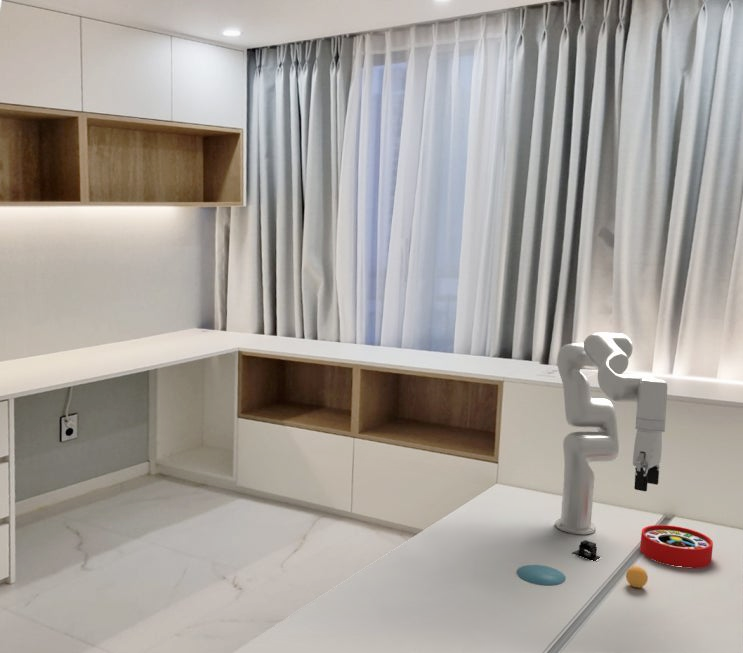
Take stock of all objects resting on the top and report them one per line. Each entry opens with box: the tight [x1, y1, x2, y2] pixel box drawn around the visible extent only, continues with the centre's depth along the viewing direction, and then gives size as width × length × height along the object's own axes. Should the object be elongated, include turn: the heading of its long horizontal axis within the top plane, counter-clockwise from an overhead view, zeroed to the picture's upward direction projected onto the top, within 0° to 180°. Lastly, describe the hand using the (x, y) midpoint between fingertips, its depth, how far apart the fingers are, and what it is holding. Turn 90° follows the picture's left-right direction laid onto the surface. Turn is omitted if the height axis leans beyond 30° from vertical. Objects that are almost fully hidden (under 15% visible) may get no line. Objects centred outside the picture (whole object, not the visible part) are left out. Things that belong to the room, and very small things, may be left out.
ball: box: [625, 565, 649, 589], centre depth 210 cm, size 6×6×6 cm
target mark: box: [516, 564, 566, 586], centre depth 214 cm, size 13×13×1 cm
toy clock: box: [639, 524, 714, 569], centre depth 234 cm, size 20×6×20 cm
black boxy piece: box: [571, 539, 601, 562], centre depth 230 cm, size 12×7×5 cm, turn 43°
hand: (646, 486), depth 213 cm, fingers open, 9 cm apart
